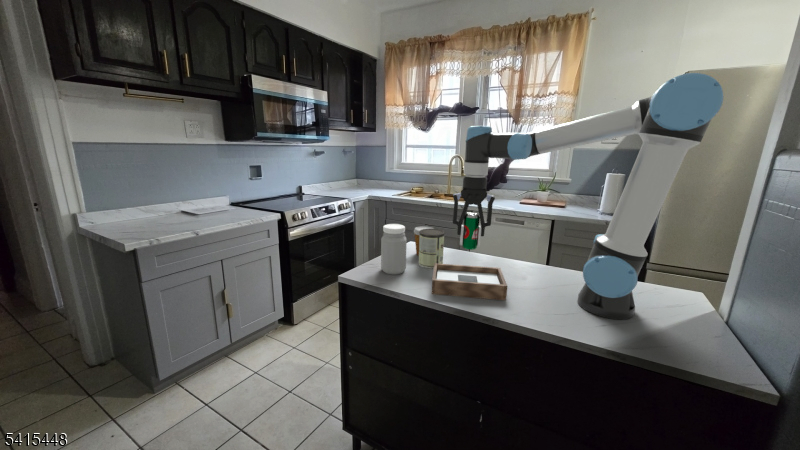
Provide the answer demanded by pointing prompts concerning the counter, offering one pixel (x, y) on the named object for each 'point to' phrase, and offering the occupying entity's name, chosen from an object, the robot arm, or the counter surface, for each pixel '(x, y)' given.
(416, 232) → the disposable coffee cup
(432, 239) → the coffee can
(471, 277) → the socket plate
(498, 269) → the open box
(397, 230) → the jar
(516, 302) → the counter surface
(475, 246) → the soda can
